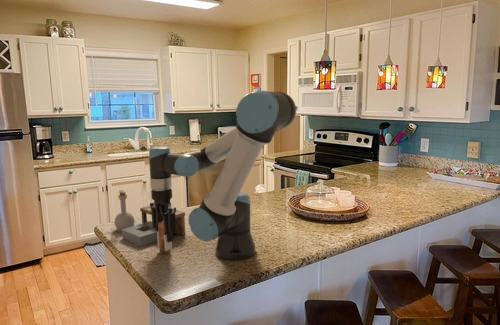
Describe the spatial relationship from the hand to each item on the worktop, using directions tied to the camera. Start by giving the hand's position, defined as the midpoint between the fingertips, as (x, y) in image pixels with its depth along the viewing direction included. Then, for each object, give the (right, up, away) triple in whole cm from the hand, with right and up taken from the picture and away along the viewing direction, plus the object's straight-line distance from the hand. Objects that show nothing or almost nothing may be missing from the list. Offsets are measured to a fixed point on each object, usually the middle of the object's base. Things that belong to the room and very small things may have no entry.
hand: (164, 247), depth 140 cm
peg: (0, -2, 0) cm, 2 cm away
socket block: (-12, +1, +16) cm, 19 cm away
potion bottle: (-24, +2, +27) cm, 36 cm away
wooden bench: (-6, +2, +22) cm, 23 cm away
